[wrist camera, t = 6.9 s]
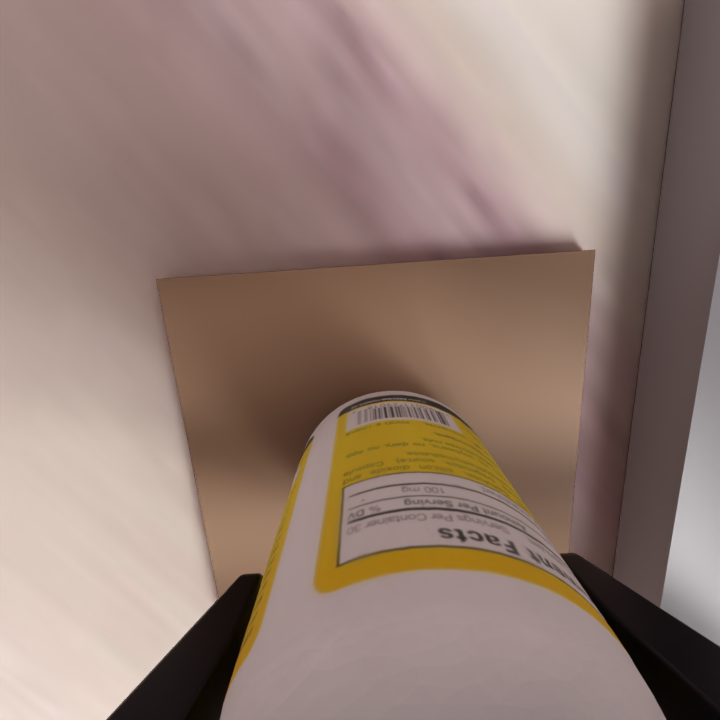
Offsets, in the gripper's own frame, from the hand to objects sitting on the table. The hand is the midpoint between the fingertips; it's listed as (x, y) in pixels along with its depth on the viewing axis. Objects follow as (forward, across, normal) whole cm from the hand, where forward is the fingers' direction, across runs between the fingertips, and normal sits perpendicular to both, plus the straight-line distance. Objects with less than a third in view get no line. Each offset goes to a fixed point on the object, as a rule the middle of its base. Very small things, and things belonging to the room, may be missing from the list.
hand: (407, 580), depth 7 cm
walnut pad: (+5, 0, 0) cm, 5 cm away
